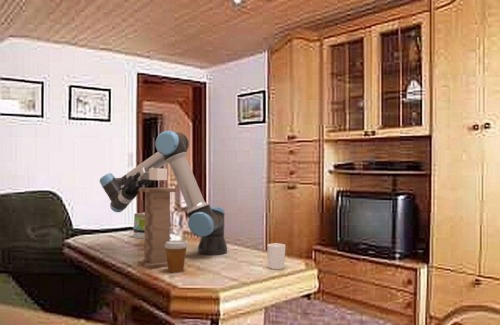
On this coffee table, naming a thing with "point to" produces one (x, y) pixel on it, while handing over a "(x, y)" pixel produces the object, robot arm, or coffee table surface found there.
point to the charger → (155, 174)
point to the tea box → (139, 225)
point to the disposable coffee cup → (175, 255)
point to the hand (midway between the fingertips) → (148, 170)
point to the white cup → (276, 255)
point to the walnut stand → (156, 226)
